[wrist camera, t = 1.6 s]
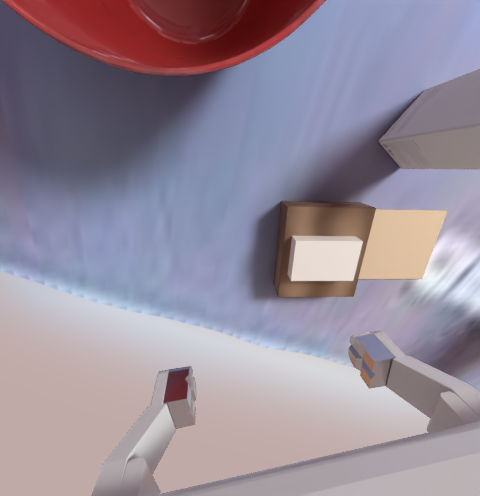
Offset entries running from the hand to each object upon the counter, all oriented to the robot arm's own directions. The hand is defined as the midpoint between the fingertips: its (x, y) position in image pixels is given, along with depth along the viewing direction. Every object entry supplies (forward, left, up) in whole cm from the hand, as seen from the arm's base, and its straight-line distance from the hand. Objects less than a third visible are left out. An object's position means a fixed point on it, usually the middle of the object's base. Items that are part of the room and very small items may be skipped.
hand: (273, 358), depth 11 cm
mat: (-25, +4, -25) cm, 35 cm away
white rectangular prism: (-11, +4, -21) cm, 24 cm away
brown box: (-12, +4, -25) cm, 28 cm away
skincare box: (-23, -13, -25) cm, 36 cm away
